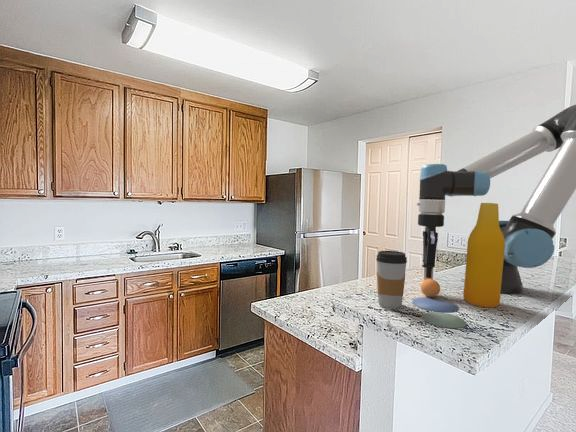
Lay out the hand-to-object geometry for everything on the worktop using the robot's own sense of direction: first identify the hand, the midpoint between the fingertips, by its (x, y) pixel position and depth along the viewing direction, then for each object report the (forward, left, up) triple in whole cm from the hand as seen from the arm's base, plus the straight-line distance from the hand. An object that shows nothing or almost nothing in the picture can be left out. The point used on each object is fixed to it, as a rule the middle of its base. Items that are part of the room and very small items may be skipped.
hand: (427, 286), depth 102 cm
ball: (+1, +3, +1) cm, 4 cm away
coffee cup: (+17, +11, -2) cm, 20 cm away
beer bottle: (-11, +10, -2) cm, 15 cm away
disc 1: (+4, +11, -2) cm, 12 cm away
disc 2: (+8, +22, -2) cm, 24 cm away
